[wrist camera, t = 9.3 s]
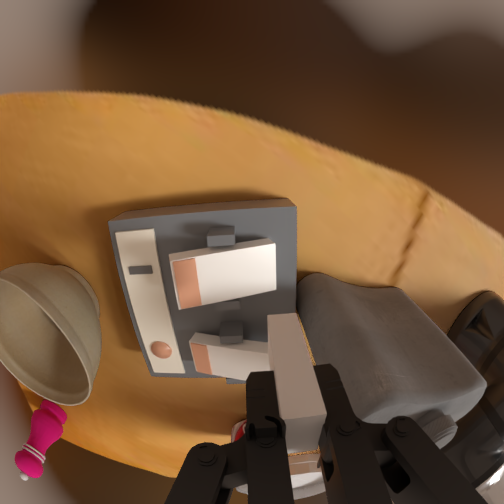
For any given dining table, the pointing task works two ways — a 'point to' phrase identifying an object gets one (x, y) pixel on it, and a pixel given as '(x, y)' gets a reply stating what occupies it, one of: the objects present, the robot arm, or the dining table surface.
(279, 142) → the dining table surface
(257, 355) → the block
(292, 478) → the dish
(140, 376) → the dining table surface
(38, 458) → the pepper mill
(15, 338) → the planter bowl
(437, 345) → the flask
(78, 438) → the dining table surface
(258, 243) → the rocker
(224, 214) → the switch unit
